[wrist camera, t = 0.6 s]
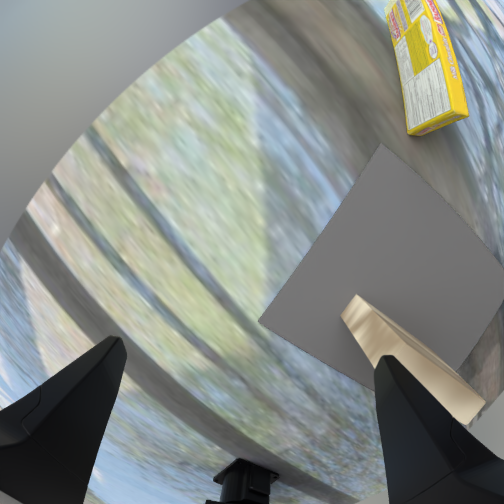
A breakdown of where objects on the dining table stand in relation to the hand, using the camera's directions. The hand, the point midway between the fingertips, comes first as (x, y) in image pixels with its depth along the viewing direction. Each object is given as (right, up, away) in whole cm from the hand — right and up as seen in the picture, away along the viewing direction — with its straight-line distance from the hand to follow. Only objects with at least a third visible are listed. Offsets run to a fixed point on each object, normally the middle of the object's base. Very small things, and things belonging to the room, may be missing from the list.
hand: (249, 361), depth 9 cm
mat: (+16, -1, +17) cm, 23 cm away
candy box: (+16, +23, +14) cm, 31 cm away
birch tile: (+14, -5, +17) cm, 23 cm away
